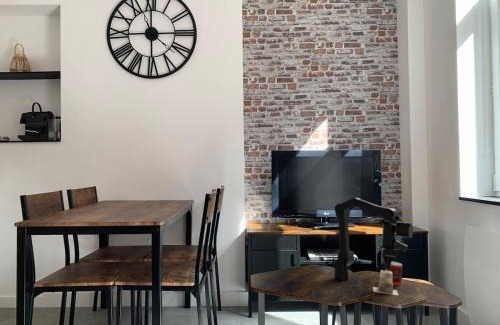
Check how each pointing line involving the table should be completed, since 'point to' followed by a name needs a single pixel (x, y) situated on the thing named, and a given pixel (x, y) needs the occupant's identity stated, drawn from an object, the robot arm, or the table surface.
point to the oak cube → (386, 277)
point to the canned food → (396, 273)
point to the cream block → (385, 288)
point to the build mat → (383, 292)
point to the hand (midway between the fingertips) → (386, 267)
